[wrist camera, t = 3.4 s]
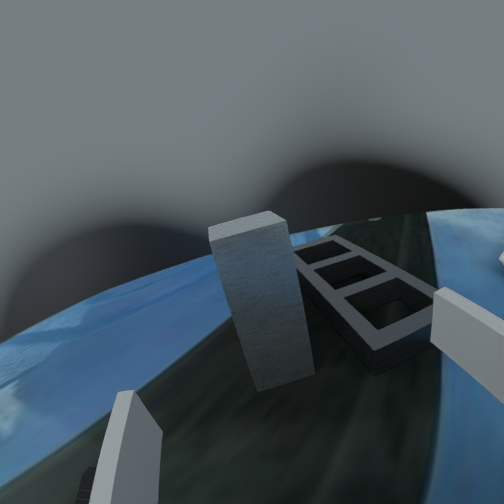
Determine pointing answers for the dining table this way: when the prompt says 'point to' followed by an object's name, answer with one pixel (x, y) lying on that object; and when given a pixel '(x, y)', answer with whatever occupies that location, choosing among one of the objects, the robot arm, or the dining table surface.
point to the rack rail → (366, 300)
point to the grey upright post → (264, 297)
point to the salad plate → (502, 259)
